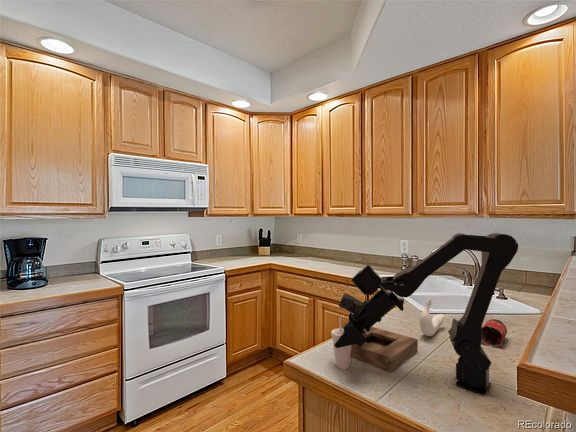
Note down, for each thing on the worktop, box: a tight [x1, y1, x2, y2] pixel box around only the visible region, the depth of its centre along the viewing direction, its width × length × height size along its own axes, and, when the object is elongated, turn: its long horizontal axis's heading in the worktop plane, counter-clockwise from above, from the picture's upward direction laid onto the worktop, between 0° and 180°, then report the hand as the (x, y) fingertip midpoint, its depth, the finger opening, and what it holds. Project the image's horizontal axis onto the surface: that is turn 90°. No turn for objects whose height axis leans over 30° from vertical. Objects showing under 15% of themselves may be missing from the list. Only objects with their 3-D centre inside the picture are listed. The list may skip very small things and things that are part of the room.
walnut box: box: [350, 326, 419, 373], centre depth 98 cm, size 18×18×4 cm
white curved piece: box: [419, 298, 446, 337], centre depth 113 cm, size 5×19×15 cm, turn 141°
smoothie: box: [330, 315, 351, 370], centre depth 89 cm, size 6×6×14 cm
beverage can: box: [481, 318, 508, 348], centre depth 106 cm, size 7×12×7 cm, turn 138°
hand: (337, 342), depth 90 cm, fingers closed on smoothie, 6 cm apart
